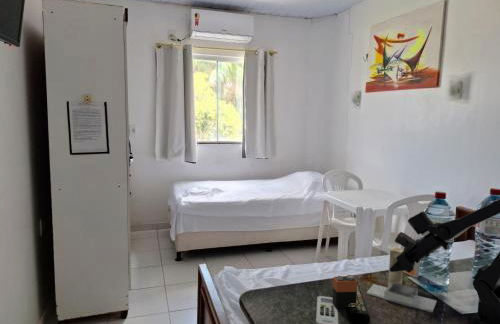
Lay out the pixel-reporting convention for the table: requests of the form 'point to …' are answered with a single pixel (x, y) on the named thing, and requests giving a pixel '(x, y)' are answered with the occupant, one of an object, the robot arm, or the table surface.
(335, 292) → the battery
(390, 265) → the ash hinge pin
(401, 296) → the grey base plate
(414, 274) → the skincare box
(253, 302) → the table surface
